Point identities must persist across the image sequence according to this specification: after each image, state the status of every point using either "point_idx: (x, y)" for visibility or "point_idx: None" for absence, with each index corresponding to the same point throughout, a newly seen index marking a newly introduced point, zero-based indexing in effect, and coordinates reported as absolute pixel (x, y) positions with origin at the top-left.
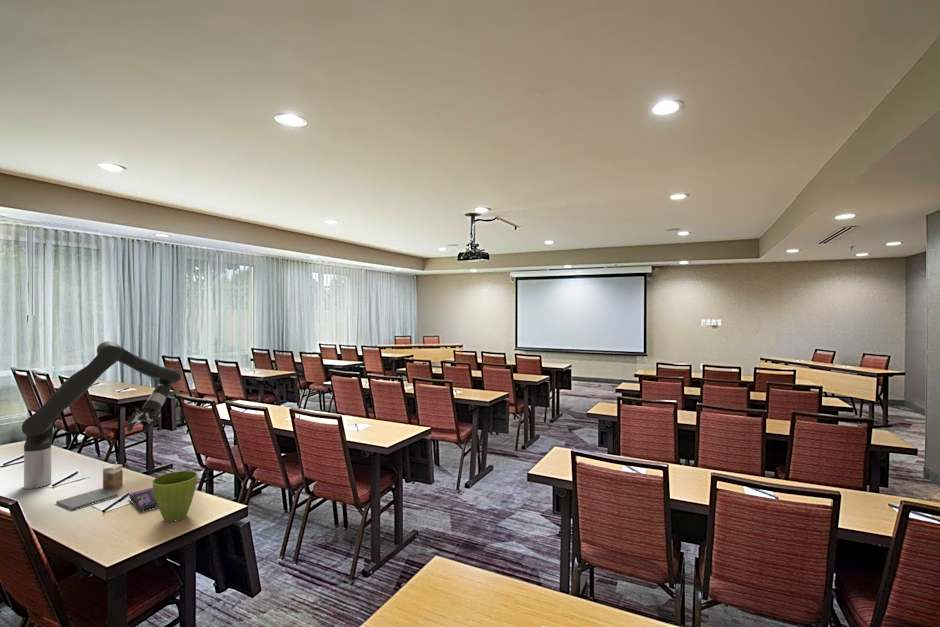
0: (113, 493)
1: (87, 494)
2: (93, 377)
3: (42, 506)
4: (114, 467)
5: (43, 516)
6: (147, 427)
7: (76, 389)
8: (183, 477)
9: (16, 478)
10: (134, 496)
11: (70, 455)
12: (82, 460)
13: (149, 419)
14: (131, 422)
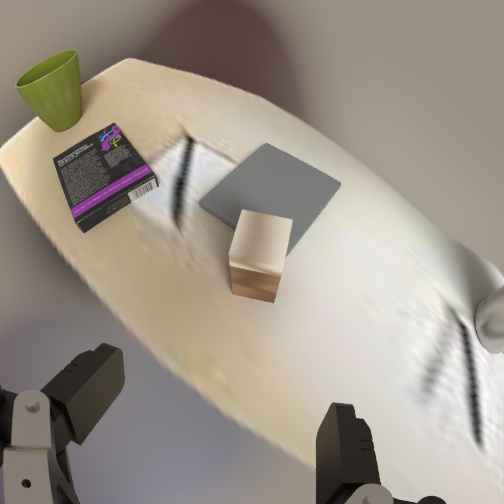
0: (214, 208)
1: (292, 212)
2: None
3: (359, 179)
4: (243, 219)
5: (306, 135)
6: (72, 367)
7: None
8: (32, 93)
9: None
10: (136, 157)
11: None
12: None
13: (16, 448)
14: (363, 495)
